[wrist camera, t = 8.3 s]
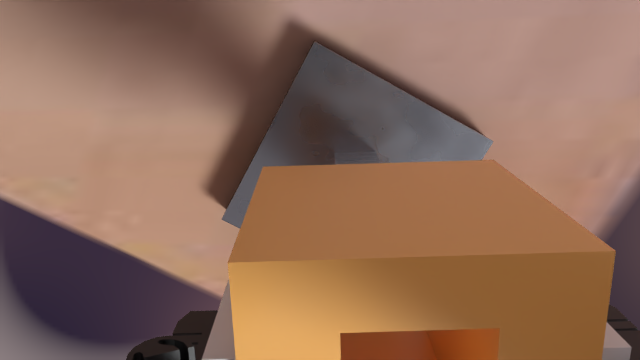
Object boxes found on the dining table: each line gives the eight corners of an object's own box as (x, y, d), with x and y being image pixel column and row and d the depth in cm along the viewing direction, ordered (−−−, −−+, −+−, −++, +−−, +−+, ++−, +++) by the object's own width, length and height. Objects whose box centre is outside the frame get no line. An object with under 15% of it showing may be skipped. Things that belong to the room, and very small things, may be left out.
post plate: (226, 210, 29) (186, 293, 20) (314, 40, 27) (314, 49, 18) (386, 289, 31) (417, 401, 22) (484, 135, 28) (565, 188, 19)
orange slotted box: (263, 166, 17) (226, 266, 10) (493, 159, 17) (619, 254, 10) (274, 367, 18) (251, 569, 12) (481, 360, 18) (580, 558, 12)
